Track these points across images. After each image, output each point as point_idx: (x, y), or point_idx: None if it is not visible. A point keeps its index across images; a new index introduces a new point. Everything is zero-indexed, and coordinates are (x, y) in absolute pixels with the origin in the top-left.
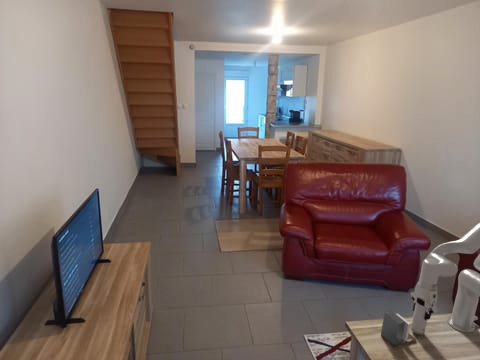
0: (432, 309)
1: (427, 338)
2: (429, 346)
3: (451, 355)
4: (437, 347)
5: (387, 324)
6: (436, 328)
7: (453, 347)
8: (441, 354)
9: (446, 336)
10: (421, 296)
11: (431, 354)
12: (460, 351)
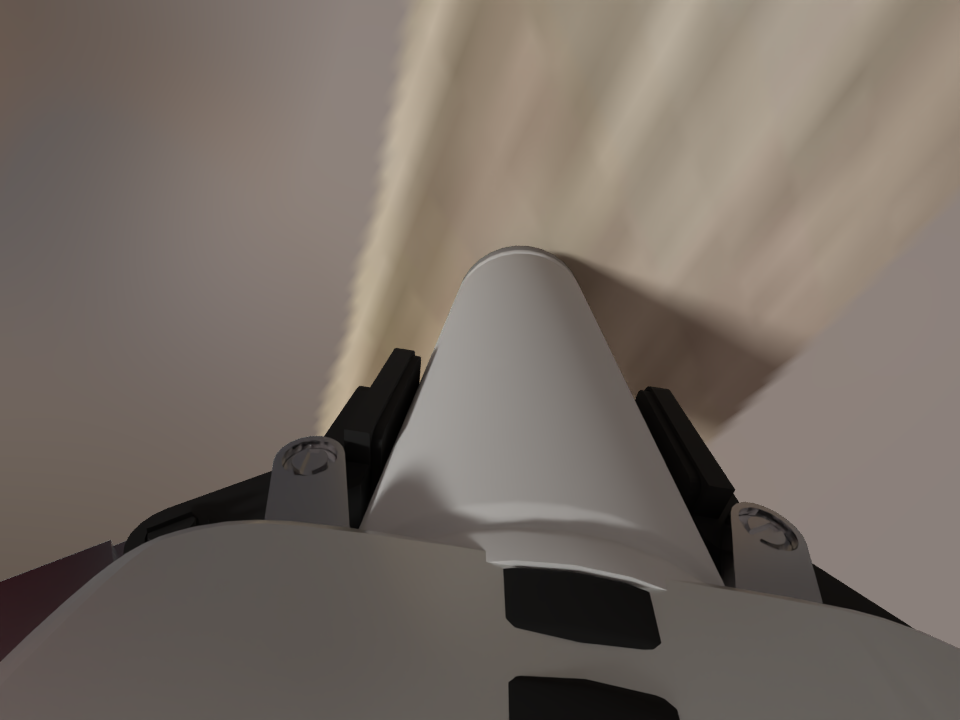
0: (820, 597)
1: (614, 282)
2: (673, 357)
3: (861, 290)
4: (728, 308)
5: None
6: (593, 8)
7: (856, 157)
8: (783, 355)
9: (739, 37)
10: None
11: (721, 418)
12: (936, 144)
